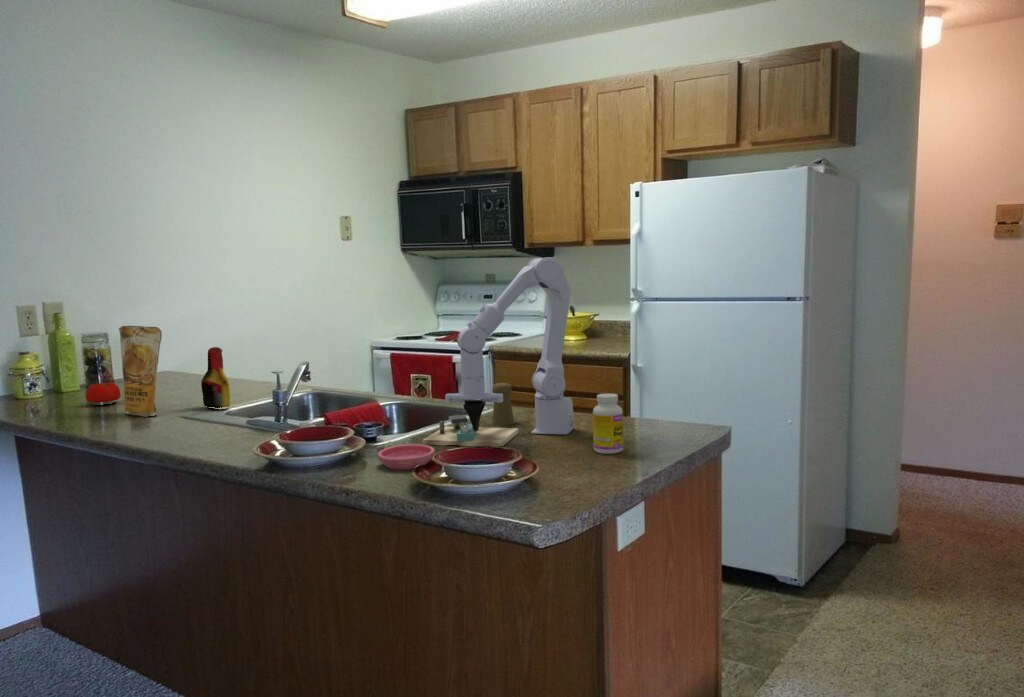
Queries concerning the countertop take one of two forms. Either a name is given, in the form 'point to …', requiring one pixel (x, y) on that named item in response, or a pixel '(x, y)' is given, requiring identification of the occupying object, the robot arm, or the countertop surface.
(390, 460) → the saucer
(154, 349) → the pancake mix bag
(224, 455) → the countertop surface
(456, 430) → the base board
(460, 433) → the link
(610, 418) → the supplement bottle
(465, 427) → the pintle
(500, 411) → the cork
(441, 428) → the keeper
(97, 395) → the tomato
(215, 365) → the bottle
